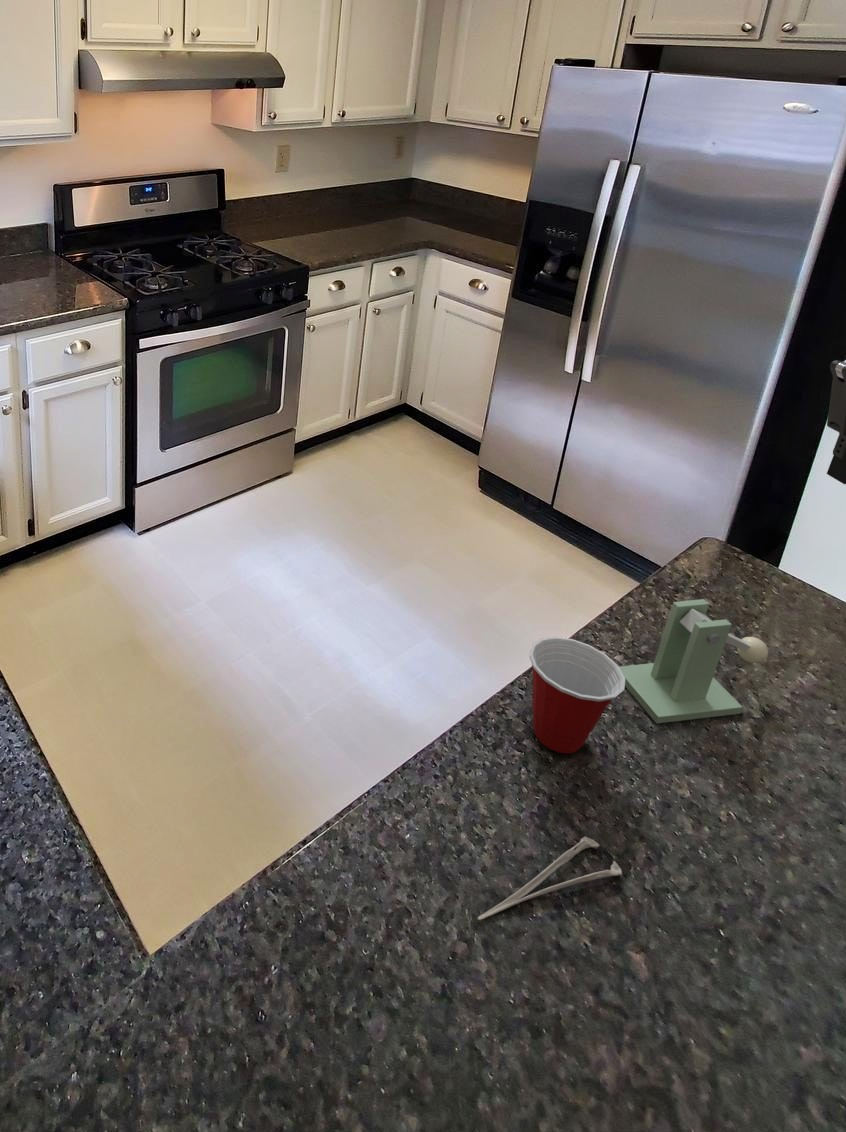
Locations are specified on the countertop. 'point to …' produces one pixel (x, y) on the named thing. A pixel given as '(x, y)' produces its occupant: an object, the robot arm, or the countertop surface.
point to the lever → (732, 639)
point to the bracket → (684, 670)
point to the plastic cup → (570, 691)
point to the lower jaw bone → (565, 857)
